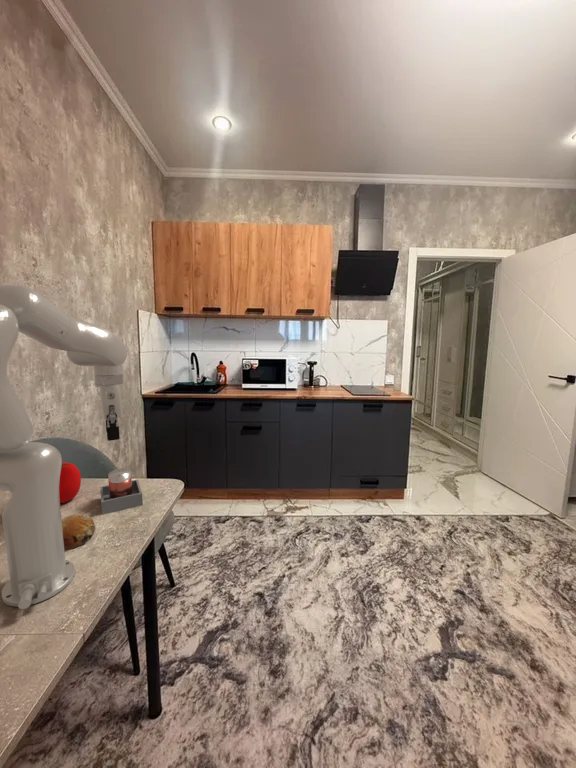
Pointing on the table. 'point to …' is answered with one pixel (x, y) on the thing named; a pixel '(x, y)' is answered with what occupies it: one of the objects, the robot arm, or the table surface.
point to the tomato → (69, 482)
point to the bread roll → (77, 530)
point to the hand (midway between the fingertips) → (112, 435)
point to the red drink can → (120, 483)
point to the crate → (121, 499)
